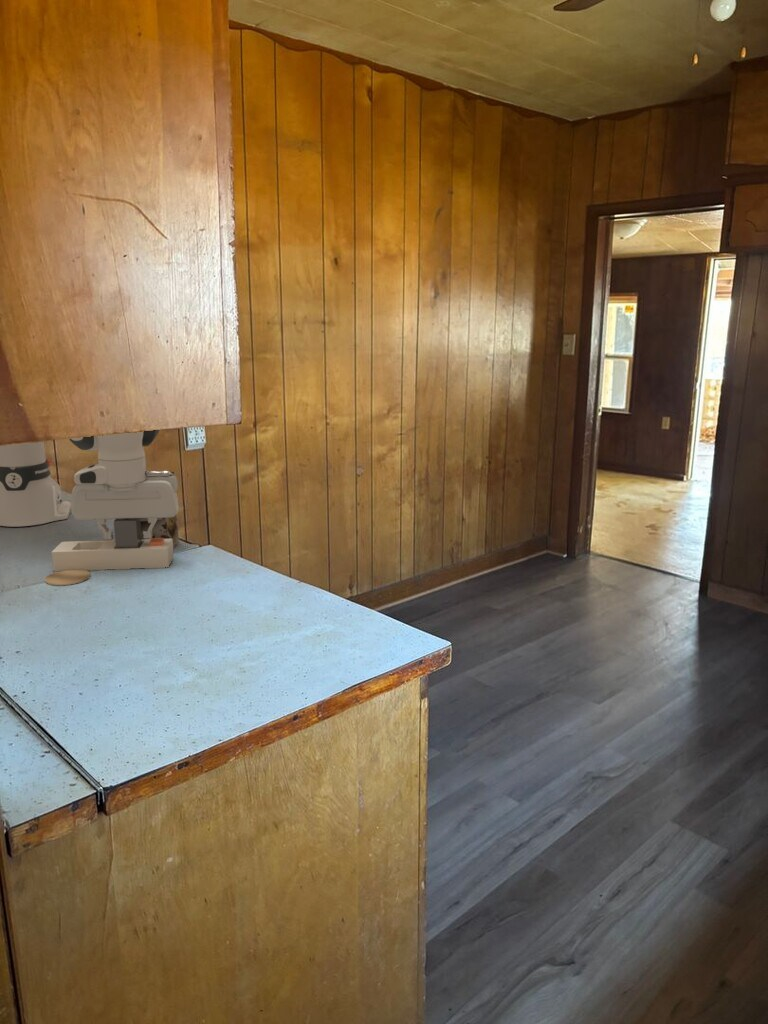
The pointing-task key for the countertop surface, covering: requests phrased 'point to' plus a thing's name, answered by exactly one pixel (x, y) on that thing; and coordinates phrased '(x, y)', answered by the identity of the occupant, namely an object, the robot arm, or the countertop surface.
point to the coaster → (67, 577)
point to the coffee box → (163, 528)
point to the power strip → (112, 555)
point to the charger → (127, 533)
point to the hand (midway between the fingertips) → (128, 539)
